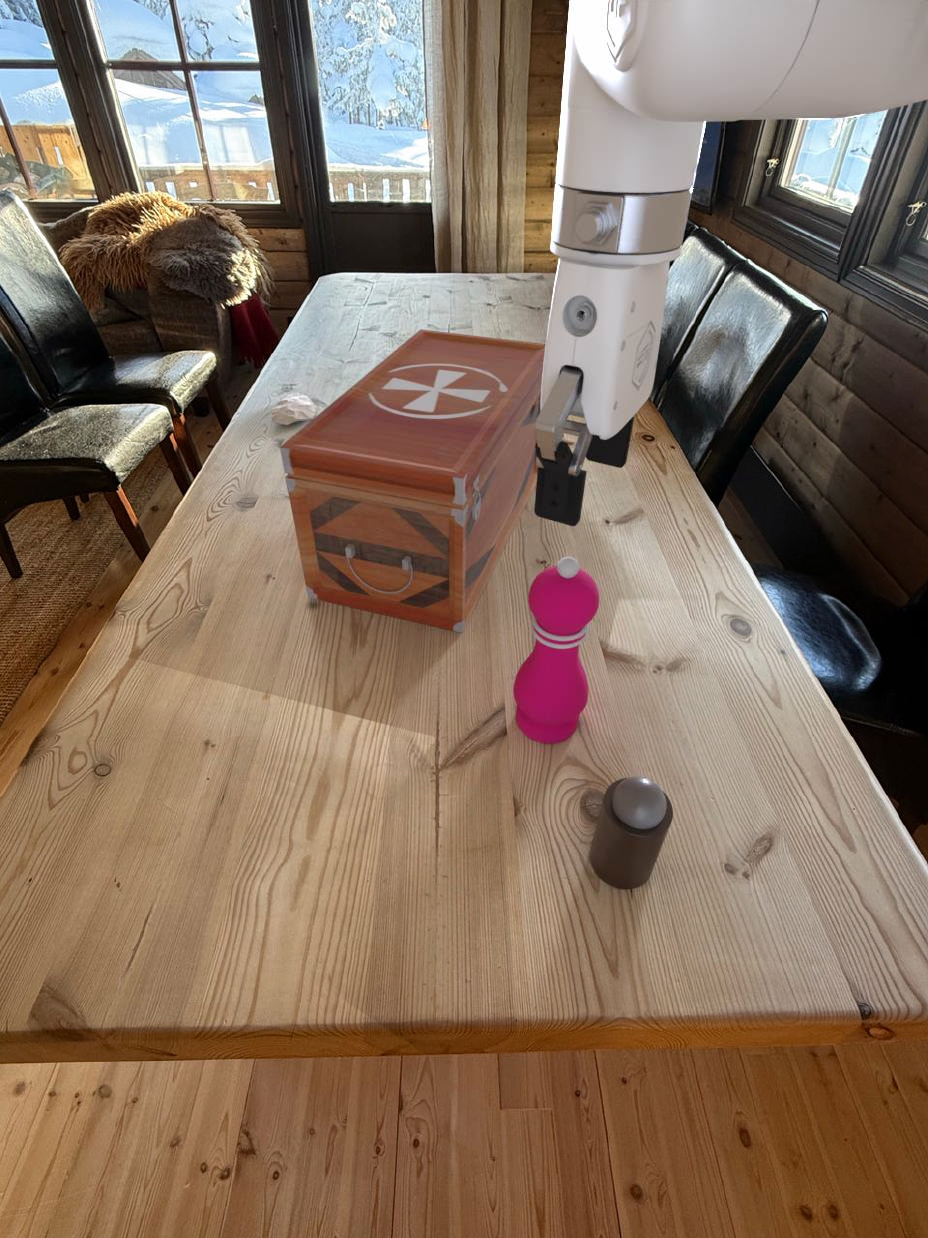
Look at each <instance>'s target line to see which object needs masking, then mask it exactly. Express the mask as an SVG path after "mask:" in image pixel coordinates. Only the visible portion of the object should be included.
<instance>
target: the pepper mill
mask: <svg viewBox="0 0 928 1238" xmlns="http://www.w3.org/2000/svg"><path fill="white" fill-rule="evenodd" d="M527 599H528V607H529V610H530V612H531V614H532V617H531V624H530V630H531V633H532V636H533V637H534V638H535V644H534V647H533V649H532V651H531V653H530V654H529V655H528V656H527V657H526V659H525V660H524V661H523V662H522V664H520V667H519V669H518V671H517V673H516V676H515V678H514V683H513V690H512V691H513V698H514V701H515V703H516V709H515V721H516V722H515V723H516V724H517V727H518V728H519V730H520V731H521V733H523V735H525V736H526V737H527V738H529V739H531V740H532V741H535V742H537V743H542V744H558V743H561V742H564V741H565V742H566V741H567V740H568V739H570V738H571V737H572V736H573V735H574V734H575V732H576V731H577V729H578V726H579V720H580V715H581V714H582V712H583V711H584V709H585V708H586V706H587V703H588V701H589V689H590V688H589V681H588V677H587V675H586V671H585V668H584V666H583V663H582V661H581V658H580V655H579V653H580V652H579V651H580V646H581V644H583V643H584V641H586V639H587V637H588V635H589V628H590V622H591V621H592V620H593V619H594V618H595V616H596V615H597V613H598V609H599V605H600V592H599V587H598V585H597V583H596V582H595V579H594V578H593V577H592V576H591V574H589V573H588V572H587V571H585V570H583V569H581V568H580V566H579V562H578V560H577V559H576V558H574V557H573V556H564V557H562V558H561V559H559V560H558V562H557V565H552V566H550V567H547V568H545V569H544V570H542V571H541V572H539V573H538V574H537V575H536V576H535V578H534V579H533V581H532V582H531V584H530V587H529V592H528V598H527Z"/></svg>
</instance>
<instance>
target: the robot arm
mask: <svg viewBox="0 0 928 1238" xmlns="http://www.w3.org/2000/svg"><path fill="white" fill-rule="evenodd" d="M567 19H568V20H567V33H566V47H565V59H564V69H563V70H564V71H563V81H562V83H563V84H562V97H561V108H560V109H561V110H560V111H561V112H560V121H559V122H560V123H559V133H558V134H559V135H558V149H557V160H556V172H555V173H556V174H555V184H554V199H553V209H552V222H551V223H552V224H551V235H550V236H551V239H550V246H549V247H550V250H549V251H550V252H551V253H552V254H554V255H555V256H557V257H558V263H557V268H556V274H555V278H554V284H553V291H552V297H551V304H550V310H549V317H548V322H547V323H548V324H547V330H546V331H547V332H546V339H545V344H546V346H545V354H544V363H543V373H542V385H541V412H540V414H539V416H538V418H537V420H536V423H535V435H536V440H537V443H536V445H535V448H536V450H535V451H536V455H537V459H536V466H537V467H538V472H537V484H536V487H535V496H534V510H533V511H534V514H535V516H536V517H538V518H541V519H545V520H548V521H552V522H555V523H559V524H562V525H566V526H570V527H576V526H577V525H578V523H579V522H580V521H581V516H582V510H583V501H584V496H585V495H584V494H585V488H586V480H587V473H588V472H587V470H584V469H582V468H583V465H584V463H585V460H587V461H590V462H593V463H598V464H602V465H605V466H610V467H614V468H618V469H621V468H623V467H624V466H625V465H626V464H627V461H628V455H629V450H630V445H631V439H632V433H633V427H634V422H635V415H636V414H637V413H638V411H640V409H641V408H642V407H643V406H644V404H645V403H646V402H647V401H648V399H649V398H650V396H651V394H652V391H653V388H654V383H655V377H656V370H657V365H658V364H657V363H658V357H659V356H658V355H659V350H660V343H661V338H662V330H663V324H664V317H665V309H666V302H667V294H668V284H669V273H670V263H671V262H672V261H675V260H677V259H678V258H680V256H681V253H682V247H683V240H684V237H685V231H686V226H687V222H688V216H689V212H690V211H689V210H690V205H691V200H692V196H693V195H692V194H693V189H694V188H693V187H694V186H695V181H696V175H697V169H698V165H699V159H700V156H701V155H700V154H701V149H702V144H703V138H704V134H705V129H706V123H708V122H709V123H710V122H712V123H713V122H714V123H715V122H736V121H751V120H752V121H754V120H756V121H757V120H758V121H759V120H760V121H762V120H764V121H765V120H837V119H847V118H853V117H860V116H866V115H870V114H875V113H881V112H884V111H888V110H893V109H897V108H901V107H904V106H908V105H913V104H916V103H920V102H924V101H927V100H928V0H569V7H568V18H567ZM569 416H573V417H578V418H583V419H584V420H585V422H580V421H575V420H570V419H569ZM564 434H566V435H570V436H573V437H577V440H576V443H575V446H574V449H573V451H572V449H571V447H570V445H569V443H568V442H566V441H563V439H564V437H565V435H564Z"/></svg>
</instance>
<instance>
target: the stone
mask: <svg viewBox="0 0 928 1238" xmlns="http://www.w3.org/2000/svg"><path fill="white" fill-rule="evenodd" d="M316 413H317V412H316V405H315V404H314V401H313V400H312V399H311V398H310V397H309V396H308V395H306V394H302V393H300V392H292V393H289V394H286V395H285V396H283V397H282V398H280V399H279V400H278V401H277V402H276V404H275V406H272V407H271V412H270V414H271V420H272V422H273V423H274V424H276V425H285V426H289V425H291V424H295V423H298V422H304V421H305V422H306V421H311V420H313V419H314V418H315V417H316Z"/></svg>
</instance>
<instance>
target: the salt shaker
mask: <svg viewBox="0 0 928 1238" xmlns="http://www.w3.org/2000/svg"><path fill="white" fill-rule="evenodd" d="M673 818H674V808H673V805H672V802H671V800H670V798H669V797H668V795H667V794H666V793H665V791H664V790H663V789H662V788H661V787H660V785H658V783H657V782H655V781H654V780H652V779H650V778H648V777H645V776H639V775H635V776H629V777H623V778H620V779H617V780H615V781H614V782H612V783H611V784H610V785H609V786H608V787H607V788H606V790H605V791H604V795H603V799H602V802H601V806H600V810H599V814H598V818H597V821H596V825H595V830H594V834H593V836H592V841H591V845H590V849H589V862H590V865H591V868H592V870H593V872H594V873H595V874H596V876H597V877H598V878H599V879H600V880H601V881H602V882H604V883H605V884H606V885H608V886H610V887H613V888H615V889H619V890H625V891H628V890H635V889H637V888H640V887H642V886H644V884H646V883H647V882H648V881H649V880H650V877H651V876H652V873H653V871H654V868H655V865H656V863H657V861H658V857H659V855H660V853H661V851H662V847H663V845H664V844H665V843H664V842H665V840H666V838H667V835H668V832H669V829H670V828H671V825H672V822H673Z"/></svg>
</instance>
